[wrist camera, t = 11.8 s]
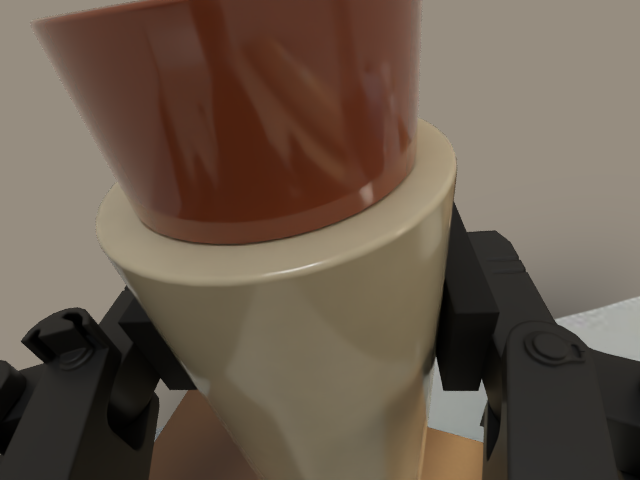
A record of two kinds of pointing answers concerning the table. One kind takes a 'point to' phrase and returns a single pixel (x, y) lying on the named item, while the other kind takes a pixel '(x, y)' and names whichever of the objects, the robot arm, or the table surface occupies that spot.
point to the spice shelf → (197, 446)
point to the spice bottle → (276, 214)
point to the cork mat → (451, 457)
